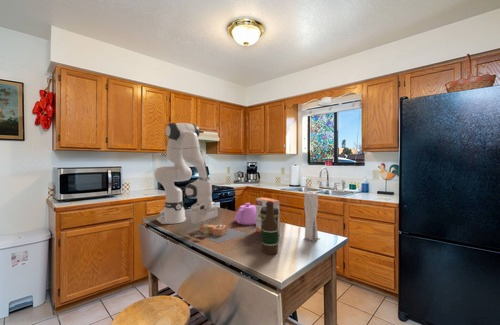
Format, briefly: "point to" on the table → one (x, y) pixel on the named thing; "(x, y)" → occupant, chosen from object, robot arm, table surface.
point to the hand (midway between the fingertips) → (205, 227)
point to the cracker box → (262, 203)
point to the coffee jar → (263, 217)
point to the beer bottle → (270, 231)
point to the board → (225, 237)
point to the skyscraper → (311, 215)
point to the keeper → (206, 230)
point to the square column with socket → (215, 229)
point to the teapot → (246, 214)
